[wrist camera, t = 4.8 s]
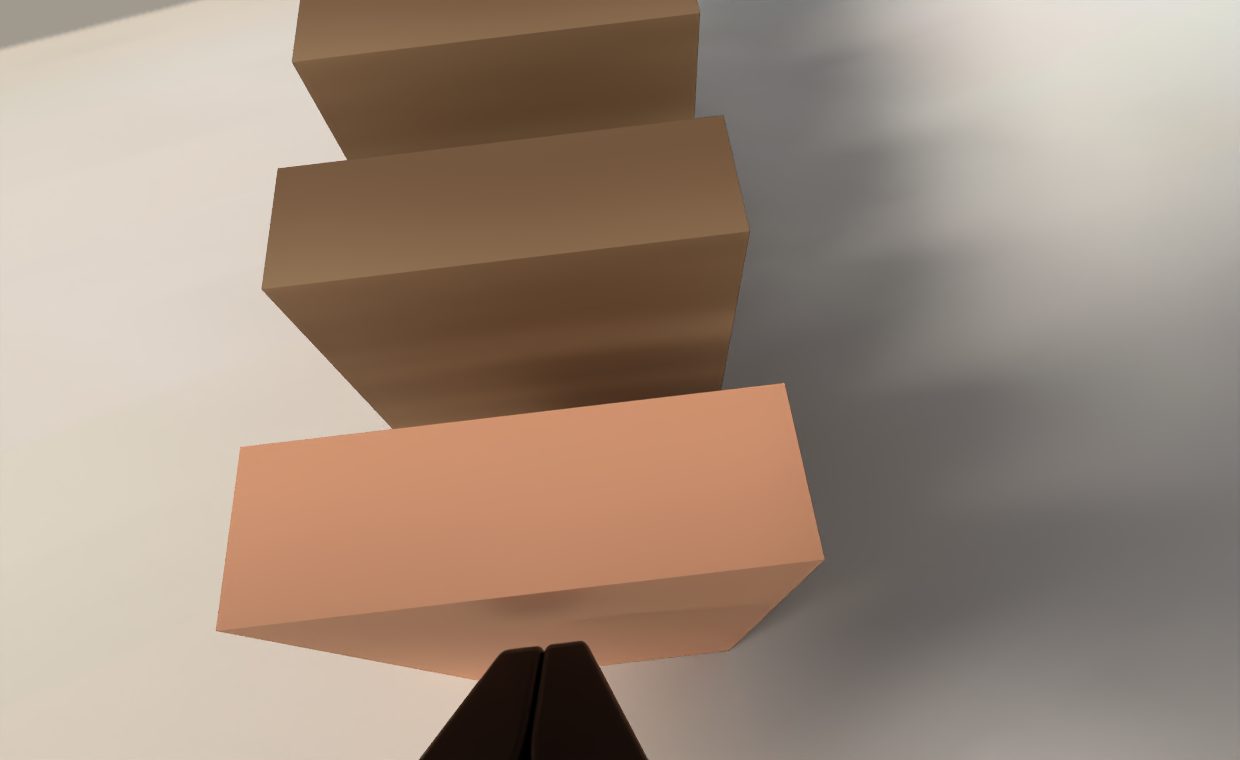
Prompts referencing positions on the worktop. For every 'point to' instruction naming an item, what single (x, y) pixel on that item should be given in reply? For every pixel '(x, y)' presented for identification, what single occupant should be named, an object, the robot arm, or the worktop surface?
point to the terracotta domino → (525, 533)
